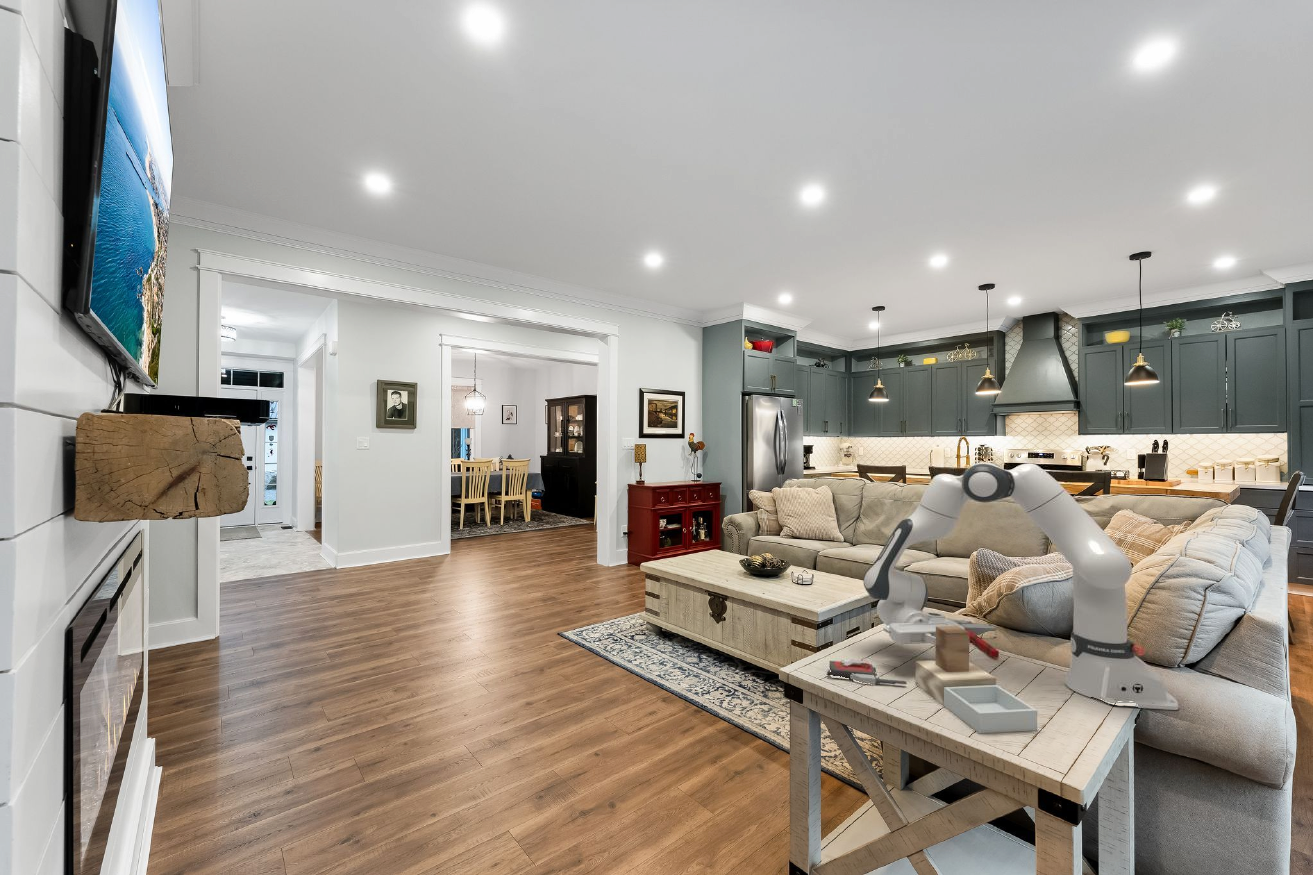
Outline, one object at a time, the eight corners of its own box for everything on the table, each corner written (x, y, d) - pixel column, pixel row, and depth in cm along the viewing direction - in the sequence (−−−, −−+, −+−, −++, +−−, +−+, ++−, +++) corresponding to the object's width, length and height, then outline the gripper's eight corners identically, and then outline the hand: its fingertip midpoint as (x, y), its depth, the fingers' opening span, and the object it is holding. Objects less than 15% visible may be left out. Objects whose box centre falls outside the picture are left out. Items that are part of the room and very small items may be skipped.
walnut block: (935, 664, 150) (935, 626, 150) (956, 663, 151) (957, 625, 150) (947, 672, 145) (947, 633, 145) (969, 671, 146) (969, 632, 146)
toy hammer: (944, 646, 170) (906, 614, 199) (944, 659, 170) (906, 625, 200) (1028, 648, 168) (977, 616, 198) (1028, 661, 168) (977, 626, 198)
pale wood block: (915, 683, 152) (915, 661, 152) (964, 681, 154) (964, 659, 154) (942, 704, 140) (943, 680, 140) (995, 702, 142) (996, 678, 142)
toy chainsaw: (827, 682, 153) (907, 690, 149) (827, 666, 153) (907, 673, 149) (824, 669, 162) (900, 675, 158) (825, 653, 162) (900, 659, 158)
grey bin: (943, 705, 140) (943, 687, 140) (996, 702, 141) (996, 684, 141) (979, 733, 127) (979, 713, 127) (1037, 730, 128) (1037, 710, 128)
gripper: (880, 616, 164) (906, 632, 150) (947, 613, 166) (978, 630, 153) (880, 637, 164) (906, 656, 150) (946, 635, 166) (978, 653, 153)
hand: (943, 643), depth 152 cm, fingers closed
